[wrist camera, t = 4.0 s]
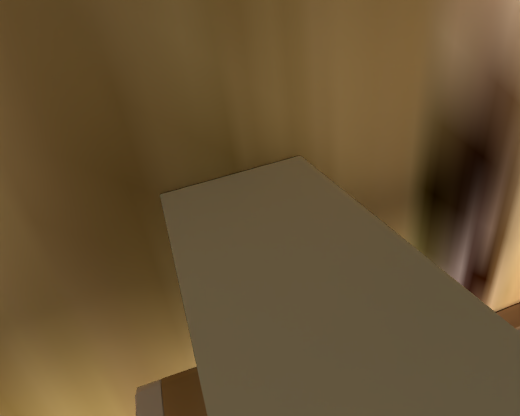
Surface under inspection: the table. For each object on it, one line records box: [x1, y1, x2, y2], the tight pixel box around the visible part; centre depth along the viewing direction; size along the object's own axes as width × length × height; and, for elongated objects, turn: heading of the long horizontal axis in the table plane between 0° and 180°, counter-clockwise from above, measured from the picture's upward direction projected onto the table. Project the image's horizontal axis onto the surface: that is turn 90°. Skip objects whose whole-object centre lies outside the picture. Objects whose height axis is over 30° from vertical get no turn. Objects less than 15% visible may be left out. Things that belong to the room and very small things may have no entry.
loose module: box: [160, 156, 520, 416], centre depth 9 cm, size 6×4×8 cm, turn 10°
